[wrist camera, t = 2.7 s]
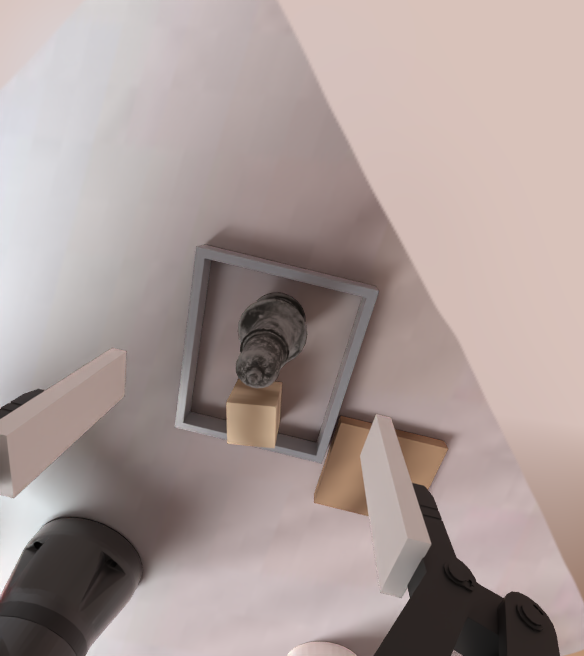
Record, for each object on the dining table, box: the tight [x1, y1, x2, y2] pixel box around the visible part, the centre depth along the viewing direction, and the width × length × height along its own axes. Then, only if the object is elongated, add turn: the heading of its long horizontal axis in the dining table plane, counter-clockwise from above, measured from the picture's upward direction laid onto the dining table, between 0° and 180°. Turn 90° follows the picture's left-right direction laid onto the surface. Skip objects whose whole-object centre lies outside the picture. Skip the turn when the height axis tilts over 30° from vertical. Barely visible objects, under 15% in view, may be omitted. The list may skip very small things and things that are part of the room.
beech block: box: [226, 379, 282, 448], centre depth 31 cm, size 4×4×4 cm
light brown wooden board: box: [314, 416, 448, 516], centre depth 35 cm, size 11×11×1 cm
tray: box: [175, 244, 379, 464], centre depth 31 cm, size 16×19×2 cm
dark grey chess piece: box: [236, 293, 307, 388], centre depth 25 cm, size 6×6×12 cm
